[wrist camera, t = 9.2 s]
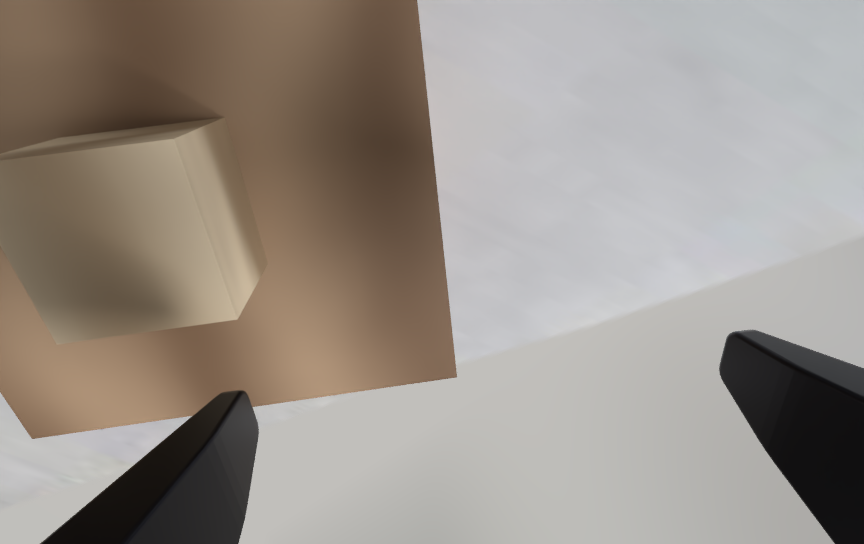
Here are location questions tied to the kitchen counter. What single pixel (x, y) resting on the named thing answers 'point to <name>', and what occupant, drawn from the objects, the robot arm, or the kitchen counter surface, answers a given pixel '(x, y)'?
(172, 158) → the cover
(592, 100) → the kitchen counter surface
